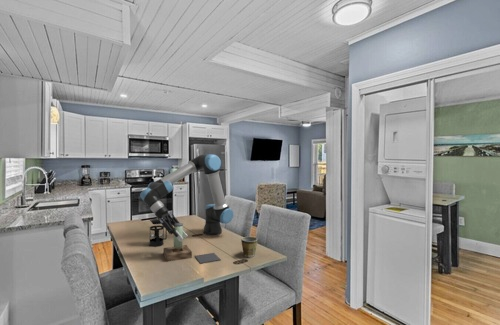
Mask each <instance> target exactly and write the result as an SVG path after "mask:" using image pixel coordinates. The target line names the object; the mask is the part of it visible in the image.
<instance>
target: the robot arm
mask: <svg viewBox="0 0 500 325" xmlns="http://www.w3.org/2000/svg"><path fill="white" fill-rule="evenodd" d="M221 166H222V161H221V159H220V157H219V156H218V155H217V154H211V153H210V154H209V153H208V154H200V155H198V156H196V157H195V158H193V159H191V160H189V161H188V162H187V163H186V164H184V165H182V166H181V167H179V168H177V169H176V170H174V171H172V172H170V173H168V174H167V175H165V176H163V177H161V178H159V179H158V180H156V181H152V182H149V184H148V185H147V188H145V189H143V190H142V191H141V192H140V194H139V196H140V198H141V200H142V201H143V202H144V204H146V206H147V207H148V208H149V209H150V210H151V212H152V213H153V214H154V216H155V217H156V219H161V220H160V221H159V222H160V223H161V224H160V225H161V226H164V229H165V231H166V230H167V233H168V234H170V235H173V237H174V236H175V237H176V238H177V239H178V240H179V241H180V242H181V241H182V242H183V240H185V239H187V238H188V236H189V235H188V234H187V233H186V231H184V230H183V237H182V236H181V235H180V234H179V233H178V231H177V230H176V231H175V229H174V224H175V223H180V221H179V220H178V219H177V218H176V217H175V215H174V214H170V213H169V209H168V208H167V207H166V206H165V204H164V203H163V202H162V201H161V199H163V197H165V196H166V195H168V194H170V193H171V192H172V191H173V190H174V184H175V183H177V182H178V181H181V180H182V179H184V178H186V177H187V176H189V175H190V174H192V173H196V172H199V171H203V174H204V175H205V176H206V177H207V180H208V185H209V188H210V192H211V196H212V200H213V203H211V204H206V205H205V223H204V226H203V229H202V234H204V235H207V236H217V235H221V234H222V232H223V229H222V225H221V224H225V225H227V224H229V223H230V222H231V221H232V219H233V218H234V211H233V209H231V208H230V206H229V203H228V202H226V198H225V194H224V190H223V186H222V182H221V177H220V174H219V173H220V172H221V169H220V168H221Z"/></svg>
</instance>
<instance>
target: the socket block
mask: <svg viewBox="0 0 500 325" xmlns="http://www.w3.org/2000/svg"><path fill="white" fill-rule="evenodd" d="M163 255H164V257H165V261H166V262H175V261H181V260H186V259H192V258H193V251H192V250H191V248H189V246H188V245H187V244H182V248H178V249H176V248H174V246H170V247H168V246H167V247H163Z"/></svg>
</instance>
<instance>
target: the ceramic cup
mask: <svg viewBox="0 0 500 325" xmlns="http://www.w3.org/2000/svg"><path fill="white" fill-rule="evenodd" d="M240 239H241V241H240V242H241V245H242V254H243V257H245V258H253V257H255V255H256V250H257V246H258V238H257V237H254V236H243V237H241V238H240Z"/></svg>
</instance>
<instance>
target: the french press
mask: <svg viewBox="0 0 500 325" xmlns="http://www.w3.org/2000/svg"><path fill="white" fill-rule="evenodd" d="M160 220H161V219H158V218H151V219H149V222H151V224H152V226H149V231H154V233H152V234H149V243H148V246H149V247H151V248H153V247H154V248H156V247H161V246H164V243H165V242H164V240H167V236H168V235H167V234H168V231H167V230H166V229H165V228H164V226H163V225H162V224H161V223H160V222H159V221H160ZM164 229H165V233H164ZM160 231H162V233H160ZM164 234H165V235H164ZM164 236H165V238H164Z"/></svg>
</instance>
